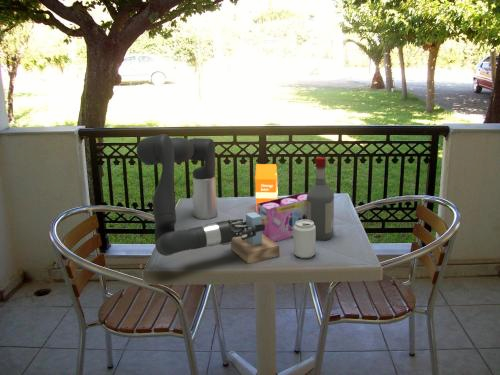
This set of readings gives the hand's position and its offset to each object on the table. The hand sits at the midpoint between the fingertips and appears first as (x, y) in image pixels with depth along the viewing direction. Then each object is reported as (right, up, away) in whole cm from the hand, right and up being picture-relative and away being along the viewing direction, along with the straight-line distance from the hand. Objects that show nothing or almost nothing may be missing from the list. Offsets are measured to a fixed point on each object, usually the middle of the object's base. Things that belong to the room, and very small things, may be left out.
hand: (260, 224), depth 180 cm
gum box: (+11, -5, +18) cm, 22 cm away
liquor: (+23, -6, +15) cm, 28 cm away
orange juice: (+4, +3, +46) cm, 47 cm away
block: (-2, -6, +1) cm, 7 cm away
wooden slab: (-2, -10, +2) cm, 10 cm away
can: (+15, -11, -1) cm, 19 cm away
